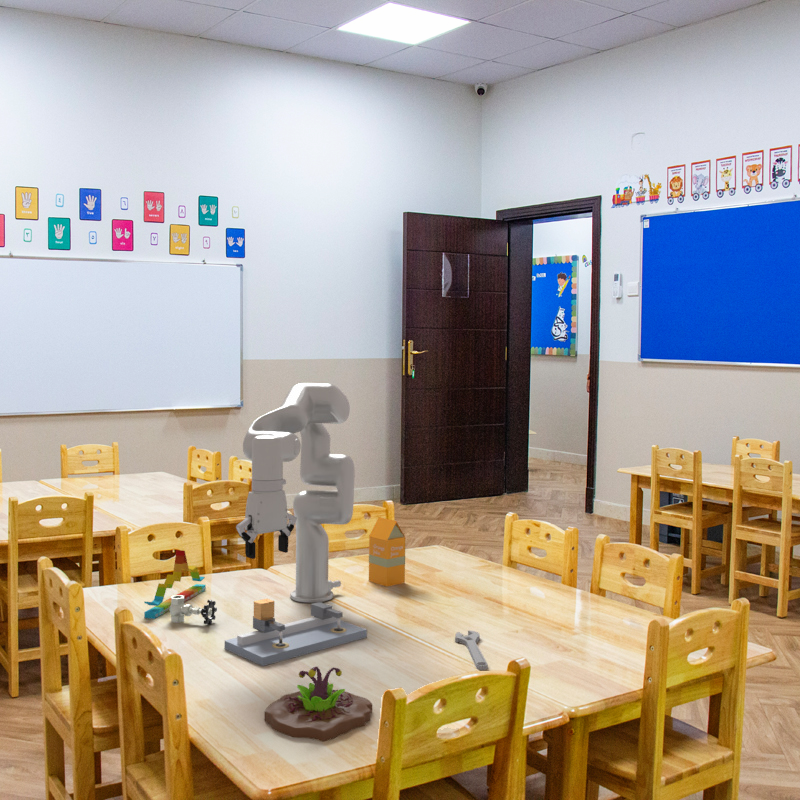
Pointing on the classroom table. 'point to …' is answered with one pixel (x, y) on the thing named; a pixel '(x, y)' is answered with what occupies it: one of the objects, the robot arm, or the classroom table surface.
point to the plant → (318, 710)
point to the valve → (190, 610)
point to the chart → (188, 594)
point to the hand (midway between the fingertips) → (267, 554)
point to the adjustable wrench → (473, 648)
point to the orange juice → (386, 553)
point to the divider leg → (266, 618)
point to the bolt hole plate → (297, 637)
